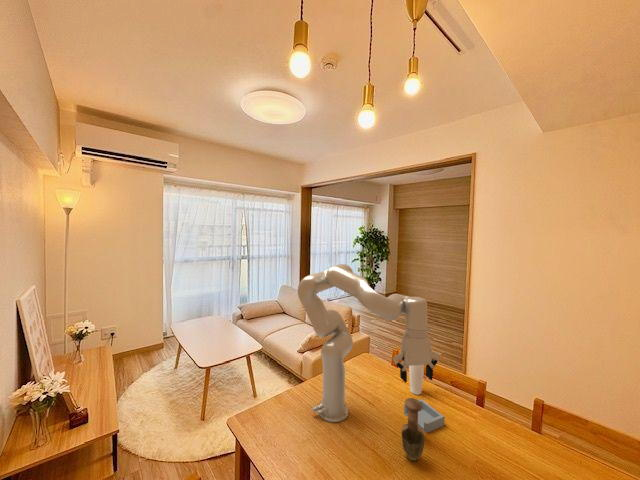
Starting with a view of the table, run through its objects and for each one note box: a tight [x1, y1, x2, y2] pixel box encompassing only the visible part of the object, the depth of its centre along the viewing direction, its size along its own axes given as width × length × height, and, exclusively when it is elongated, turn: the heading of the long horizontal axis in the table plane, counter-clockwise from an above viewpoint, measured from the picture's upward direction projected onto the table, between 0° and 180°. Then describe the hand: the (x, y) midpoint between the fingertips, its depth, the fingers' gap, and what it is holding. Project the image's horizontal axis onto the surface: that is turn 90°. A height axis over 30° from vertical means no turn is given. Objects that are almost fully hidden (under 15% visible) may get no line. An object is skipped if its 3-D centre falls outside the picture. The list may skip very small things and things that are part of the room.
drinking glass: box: [408, 365, 425, 396], centre depth 124 cm, size 7×7×15 cm
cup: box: [401, 427, 426, 463], centre depth 88 cm, size 8×7×8 cm
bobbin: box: [401, 397, 424, 435], centre depth 98 cm, size 8×8×12 cm
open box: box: [403, 398, 446, 434], centre depth 106 cm, size 10×12×4 cm
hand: (416, 379), depth 93 cm, fingers open, 9 cm apart
